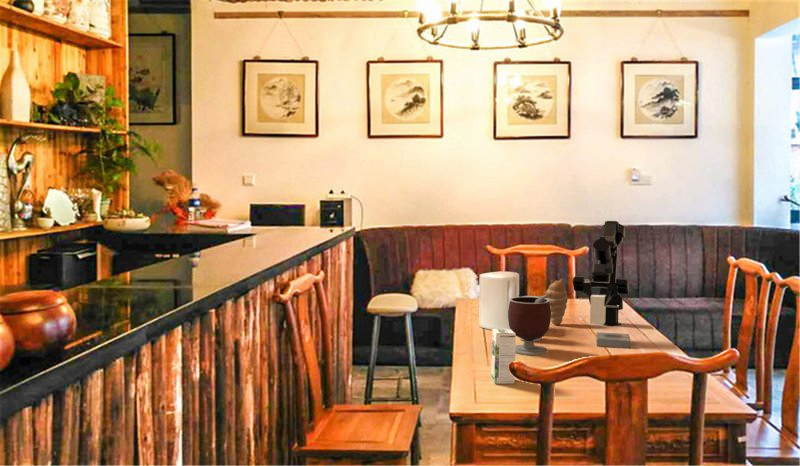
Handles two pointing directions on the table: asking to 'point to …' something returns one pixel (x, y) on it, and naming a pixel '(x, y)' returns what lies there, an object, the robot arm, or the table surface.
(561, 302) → the spiral seashell
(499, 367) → the syrup box
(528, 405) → the table surface
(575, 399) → the table surface
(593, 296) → the block
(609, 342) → the plate
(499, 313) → the paper towel roll
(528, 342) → the mate gourd
